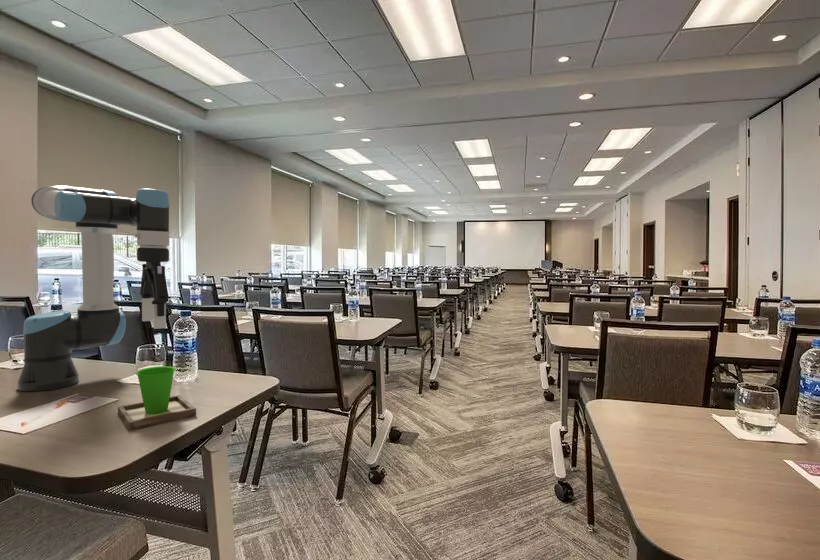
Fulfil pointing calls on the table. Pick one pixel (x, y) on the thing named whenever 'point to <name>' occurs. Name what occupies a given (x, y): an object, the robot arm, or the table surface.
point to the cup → (156, 388)
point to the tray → (139, 418)
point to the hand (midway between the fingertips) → (153, 324)
